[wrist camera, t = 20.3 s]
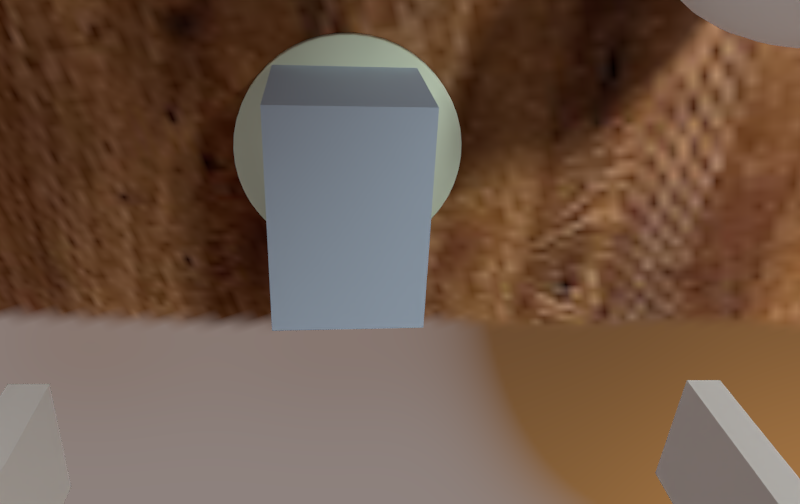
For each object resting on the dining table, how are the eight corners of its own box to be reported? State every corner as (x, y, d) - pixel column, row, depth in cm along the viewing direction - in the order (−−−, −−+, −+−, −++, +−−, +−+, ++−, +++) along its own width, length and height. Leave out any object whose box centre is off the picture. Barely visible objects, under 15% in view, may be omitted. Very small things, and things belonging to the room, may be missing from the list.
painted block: (271, 64, 28) (260, 104, 22) (417, 67, 28) (439, 107, 23) (280, 258, 32) (271, 330, 27) (406, 257, 33) (423, 327, 27)
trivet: (230, 25, 28) (228, 28, 27) (470, 39, 29) (474, 42, 28) (239, 243, 32) (237, 251, 31) (446, 247, 33) (449, 255, 33)
